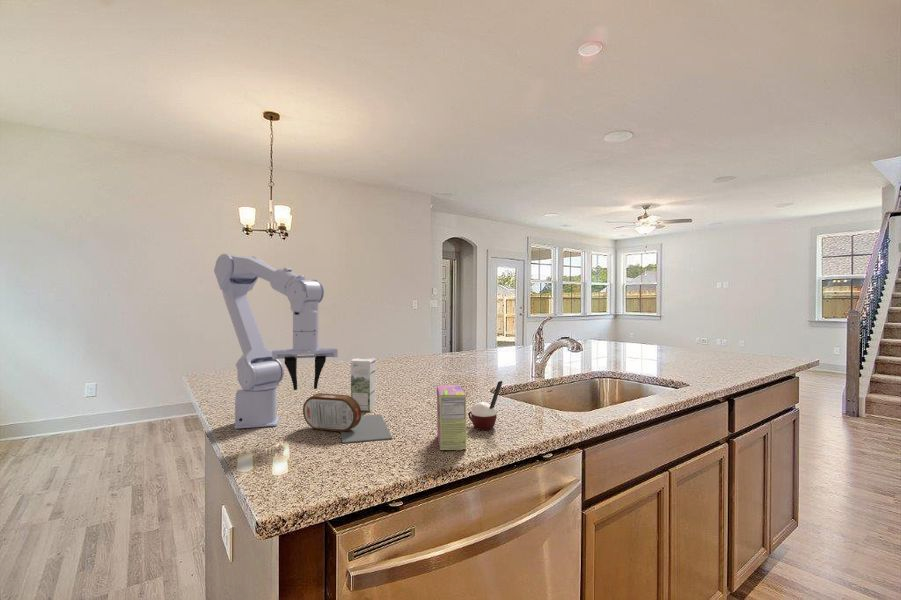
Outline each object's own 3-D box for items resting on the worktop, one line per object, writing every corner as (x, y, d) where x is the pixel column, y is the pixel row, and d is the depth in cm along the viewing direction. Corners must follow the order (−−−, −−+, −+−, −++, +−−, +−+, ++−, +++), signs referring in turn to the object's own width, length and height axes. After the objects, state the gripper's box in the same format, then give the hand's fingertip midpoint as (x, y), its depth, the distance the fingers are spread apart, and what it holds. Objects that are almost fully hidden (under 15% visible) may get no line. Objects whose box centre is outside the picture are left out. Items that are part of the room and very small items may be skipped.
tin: (362, 429, 103) (361, 394, 102) (355, 434, 100) (354, 397, 99) (309, 425, 108) (308, 391, 107) (301, 429, 105) (299, 394, 104)
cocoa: (464, 426, 109) (462, 379, 109) (485, 422, 112) (483, 376, 112) (485, 435, 100) (483, 384, 100) (507, 430, 103) (505, 380, 103)
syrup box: (375, 406, 126) (375, 357, 126) (369, 412, 120) (370, 360, 120) (356, 406, 127) (356, 356, 126) (349, 411, 121) (350, 359, 121)
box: (436, 435, 100) (436, 384, 100) (461, 435, 101) (461, 384, 101) (439, 451, 90) (439, 395, 90) (466, 451, 90) (466, 394, 90)
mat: (342, 443, 95) (342, 442, 95) (338, 418, 114) (338, 417, 114) (392, 438, 98) (392, 437, 98) (380, 415, 117) (380, 414, 117)
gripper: (270, 333, 96) (270, 394, 96) (338, 331, 100) (337, 390, 100) (273, 330, 103) (273, 387, 103) (337, 329, 107) (336, 384, 107)
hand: (305, 388), depth 102 cm, fingers open, 4 cm apart
